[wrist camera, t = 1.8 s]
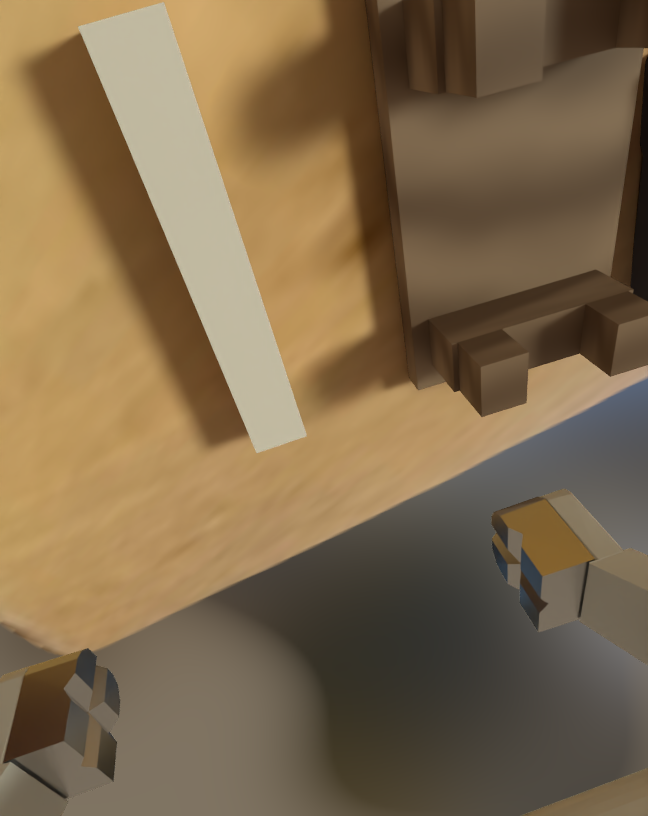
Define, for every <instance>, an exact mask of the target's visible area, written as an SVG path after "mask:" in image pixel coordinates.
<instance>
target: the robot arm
mask: <svg viewBox="0 0 648 816" xmlns="http://www.w3.org/2000/svg"><path fill="white" fill-rule="evenodd" d="M491 525H492V526H493V528H494V530H495V531H496V534H495V535H494V537H493V538H492V551H493V554H494V557H495V560H496V563H497V565H498V567H499V570H500V572H501V574H502V575H503V577H504V579H505V580H506V582H507V583H508V584H509V585H511V586H513V587H515V588H517V589H519V590H520V604H521V606H522V608H523V609H524V611H525V612H526V614H527V615H528V617H529V619H530V620H531V622H532V623H533V625H534V627H535V628H536V630H537V631H538V632H541V631H544V630H547V629H550V628H553V627H557V626H560V625H563V624H566V623H569V622H572V621H576V620H579V619H580V622H581V623H583V624H584V625H586V626H588V627H589V628H590V629H592V630H594V631H595V632H597V633H598V634H600V635H601V636H603V637H604V638H606V639H608V640H609V641H611V642H612V643H614V644H615V645H617V646H618V647H620V648H622V649H623V650H625V651H626V652H628V653H629V654H631V655H632V656H634V657H635V658H637V659H638V660H640V661H642V662H643V663H645V664H646V665H648V555H646V554H643V553H641V552H639V551H636V550H634V549H631V548H630V549H626V550H623V549H622V548H621V547H620V546H619V545H618V544H617V543H616V542H615V540H614V539H613V538H612V537H611V536H610V535H609V534H608V533H607V532H606V530H605V529H603V527H602V526H601V525H600V524H599V523H598V522H597V521H596V519H595V518H594V517H593V516H592V515H591V514H590V513H589V512H588V511H587V510H586V508H585V507H584V506H582V504H581V503H580V502H579V501H578V500H577V498H576V497H575V496H574V495H573V494H572V493H571V492H570V491H568V490H566V489H561V490H558V491H555V492H552V493H550V494H547V495H544V496H541V497H536V498H533V499H530V500H527V501H524V502H521V503H518V504H516V505H513V506H510V507H507V508H504V509H501V510H499V511H496V512H494V513H493V514H492V516H491ZM96 660H97V656H96V655H95V654H94V653H93V652H92V651H91V650H89V649H88V648H87V649H84V650H81V651H77V652H74V653H71V654H68V655H65V656H61V657H58V658H55V659H52V660H49V661H46V662H42V663H39V664H36V665H32V666H29V667H26V668H23V669H20V670H17V671H14V672H11V673H8V674H5V675H3V676H2V677H1V679H0V816H61V815H62V814H63V812H64V810H65V808H66V806H67V804H68V801H67V799H69V798H72V797H74V796H77V795H80V794H82V793H85V792H88V791H90V790H93V789H96V788H98V787H101V786H103V785H106V784H109V783H111V782H114V771H115V760H116V748H117V741H116V740H115V739H114V737H113V736H112V734H111V733H110V731H111V730H112V728H113V726H114V725H115V723H116V721H117V720H118V718H119V712H120V696H119V689H118V684H117V682H116V680H115V677H114V675H113V674H112V673H111V672H110V670H109V669H108V668H104V667H100V666H96ZM522 816H648V768H646V769H644V770H641V771H638V772H636V773H633V774H630V775H628V776H625V777H622V778H620V779H617V780H615V781H612V782H609V783H606V784H604V785H601V786H598V787H596V788H593V789H590V790H588V791H585V792H582V793H580V794H578V795H574V796H572V797H569V798H566V799H564V800H561V801H559V802H556V803H553V804H550V805H548V806H545V807H543V808H540V809H538V810H535V811H532V812H529V813H527V814H524V815H522Z"/></svg>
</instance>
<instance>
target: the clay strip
mask: <svg viewBox="0 0 648 816" xmlns="http://www.w3.org/2000/svg"><path fill="white" fill-rule="evenodd" d="M78 28H79V30H80V33H81V35H82V37H83V40H84V42H85V45H86V47H87V49H88V52H89V54H90V57H91V59H92V61H93V64H94V66H95V69H96V71H97V73H98V76H99V78H100V80H101V83H102V85H103V88H104V90H105V92H106V95H107V97H108V100H109V102H110V104H111V107H112V109H113V111H114V114H115V116H116V119H117V121H118V123H119V126H120V128H121V131H122V133H123V135H124V138H125V140H126V143H127V145H128V147H129V150H130V152H131V154H132V157H133V159H134V162H135V164H136V166H137V169H138V171H139V174H140V176H141V178H142V181H143V183H144V186H145V188H146V190H147V193H148V195H149V197H150V200H151V202H152V205H153V207H154V209H155V212H156V214H157V217H158V219H159V221H160V224H161V226H162V229H163V231H164V233H165V236H166V238H167V240H168V243H169V245H170V248H171V250H172V252H173V255H174V257H175V260H176V262H177V264H178V267H179V269H180V271H181V274H182V276H183V279H184V281H185V283H186V286H187V288H188V291H189V293H190V295H191V298H192V300H193V303H194V305H195V307H196V310H197V312H198V314H199V317H200V319H201V322H202V324H203V326H204V329H205V331H206V334H207V336H208V338H209V341H210V343H211V346H212V348H213V350H214V353H215V355H216V357H217V360H218V362H219V365H220V367H221V369H222V372H223V374H224V377H225V379H226V381H227V384H228V386H229V388H230V391H231V393H232V396H233V398H234V400H235V403H236V405H237V408H238V410H239V412H240V415H241V417H242V420H243V422H244V424H245V427H246V429H247V431H248V434H249V436H250V439H251V441H252V443H253V446H254V448H255V451H256V453H259V452H262V451H265V450H268V449H271V448H273V447H276V446H279V445H282V444H285V443H288V442H291V441H294V440H297V439H300V438H303V437H306V436H307V435H306V432H305V429H304V426H303V423H302V420H301V417H300V413H299V410H298V407H297V404H296V401H295V398H294V395H293V392H292V389H291V386H290V383H289V380H288V377H287V374H286V371H285V368H284V365H283V362H282V359H281V356H280V353H279V350H278V347H277V344H276V341H275V338H274V335H273V332H272V329H271V326H270V323H269V320H268V317H267V313H266V310H265V307H264V304H263V301H262V298H261V295H260V292H259V289H258V286H257V283H256V280H255V277H254V274H253V271H252V268H251V265H250V262H249V259H248V256H247V253H246V250H245V247H244V244H243V241H242V238H241V235H240V232H239V229H238V226H237V223H236V220H235V216H234V213H233V210H232V207H231V204H230V201H229V198H228V195H227V192H226V189H225V186H224V183H223V180H222V177H221V174H220V171H219V168H218V165H217V162H216V159H215V156H214V153H213V150H212V147H211V144H210V141H209V138H208V135H207V132H206V129H205V126H204V123H203V120H202V116H201V113H200V110H199V107H198V104H197V101H196V98H195V95H194V92H193V89H192V86H191V83H190V80H189V77H188V74H187V71H186V68H185V65H184V62H183V59H182V56H181V53H180V50H179V47H178V44H177V41H176V38H175V35H174V32H173V29H172V26H171V23H170V19H169V16H168V13H167V10H166V7H165V4H164V2H163V3H159V4H156V5H152V6H149V7H145V8H142V9H138V10H135V11H131V12H128V13H124V14H121V15H117V16H114V17H110V18H107V19H103V20H100V21H96V22H93V23H89V24H86V25H82V26H79V27H78Z"/></svg>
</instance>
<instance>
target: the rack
mask: <svg viewBox="0 0 648 816" xmlns="http://www.w3.org/2000/svg"><path fill="white" fill-rule="evenodd" d="M365 3H366V12H367V20H368V29H369V37H370V46H371V55H372V63H373V72H374V80H375V89H376V98H377V106H378V115H379V123H380V132H381V141H382V149H383V158H384V166H385V175H386V184H387V192H388V201H389V209H390V218H391V227H392V235H393V244H394V253H395V261H396V270H397V278H398V287H399V296H400V304H401V313H402V321H403V330H404V339H405V347H406V356H407V364H408V373H409V378H410V380H411V381H412V382H413V384H414V385H415V387H416V388H417V389H418V390H421V389H424V388H427V387H431V386H434V385H437V384H440V383H444V382H447V384H448V385H449V386H450V387H451V388H452V390H453V391H454V392H456V391H459V390H460V391H461V393H462V394H463V395H464V396H465V397H466V399H467V400H468V401H469V402H470V403H471V405H472V406H473V407H474V408H475V410H476V411H477V412H478V413H479V414H480V416H481V417H483V416H486V415H490V414H493V413H496V412H499V411H502V410H506V409H509V408H512V407H515V406H518V405H521V404H525V403H526V401H527V381H528V369H531V368H534V367H537V366H540V365H544V364H547V363H550V362H553V361H557V360H560V359H563V358H566V357H570V356H573V355H576V354H579V353H580V354H581V355H583V356H584V357H585V358H586V359H588V360H589V361H590V362H592V363H593V364H594V365H596V366H597V367H598V368H600V369H601V370H602V371H604V372H605V373H606V374H608V375H609V376H610V377H611V376H614V375H617V374H620V373H624V372H627V371H630V370H633V369H636V368H639V367H643V366H646V365H648V301H646V300H644V299H642V298H640V297H638V296H637V295H635V294H633V290H634V289H632V288H630V287H628V286H626V285H624V284H622V283H621V282H619V281H617V280H615V279H613V278H611V270H612V263H613V256H614V249H615V242H616V235H617V229H618V222H619V215H620V208H621V201H622V194H623V187H624V180H625V173H626V166H627V159H628V152H629V146H630V139H631V132H632V125H633V118H634V111H635V104H636V97H637V90H638V83H639V76H640V69H641V62H642V56H643V49H644V48H648V0H365Z"/></svg>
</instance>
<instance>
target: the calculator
mask: <svg viewBox="0 0 648 816" xmlns="http://www.w3.org/2000/svg"><path fill="white" fill-rule="evenodd" d="M640 146H641V150H642V153H643V161H642V171H641V180H640V189H639V199H638V208H637V217H636V227H635V236H634V247H633V260H632V274H631V288H632V289H634V290H633V294H635V295H637V296H638V297H640V298H642V299H644V300H646V301H648V58H647V60H646V63H645V73H644V88H643V104H642V119H641V135H640Z"/></svg>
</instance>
